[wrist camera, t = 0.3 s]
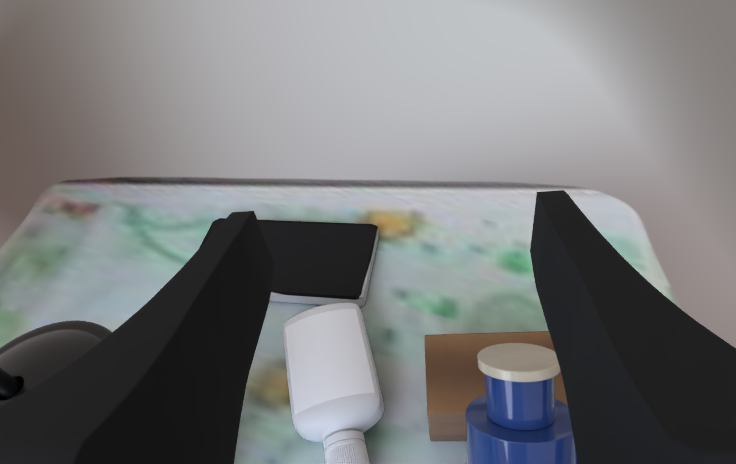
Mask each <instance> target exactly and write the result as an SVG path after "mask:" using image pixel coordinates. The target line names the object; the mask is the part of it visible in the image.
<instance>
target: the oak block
mask: <svg viewBox="0 0 736 464" xmlns="http://www.w3.org/2000/svg"><path fill="white" fill-rule="evenodd" d="M504 343H526V344H533V345H538V346H542V347H546V348H548V349H551V350H553V351H555V349H554V346H553V343H552V339H551V336H550V333H549V331H540V332H507V333H474V334H442V335H425V361H426V387H427V413H428V423H429V432H430V440H431V441H467V437H466V417H465V412H466V409H467V407H468V405H469V404H470V403H471V402H472V401H474V400H475V399H477V398H479V397H482V396H484V395H485V378H484V373H483V372H482V371H480V369H479V368H478V363H477V355H478V353H479V352H480V351H481V350H482V349H484V348H486V347H489V346H492V345H497V344H504ZM555 399H556V400H559V401H561V402H563V403H564V404H566V405H568V404H567V399H566V393H565V388H564V383H563V379H562V375H561V371H560V372H559V374H558V375H556V376H555Z"/></svg>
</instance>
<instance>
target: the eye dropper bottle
mask: <svg viewBox="0 0 736 464" xmlns="http://www.w3.org/2000/svg"><path fill="white" fill-rule="evenodd" d="M283 339H284V349H285V359H286V368H287V378H288V387H289V396H290V405H291V413H292V420H293V425H294V427H295V429H296V431H297V432H298V433H299V435H300V436H301V437H303V438H304V439H306V440H309V441H314V442H324V443H323V445H324V452H325V459H326V464H370V463H369V458H368V453H367V448H366V443H365V438H364V434H363V433H364V432H365V431H366V430H368V429H369V428H371V427H372V426H373V425H375V424H376V423H377V422H378V421H379V420H380V419H381V417H382V416H383V413H384V403H383V398H382V394H381V389H380V385H379V380H378V376H377V372H376V368H375V364H374V359H373V355H372V351H371V347H370V343H369V339H368V334H367V330H366V326H365V322H364V318H363V315H362V312H361V309H360V307H359V306H358V305H357V304H354V303H334V304H327V305H322V306H318V307H315V308H311V309H309V310H306V311H304V312H301V313H299V314H297V315H295V316H293V317H291V318H290V319H288V320H287V321H286V322H285V323H284V325H283Z"/></svg>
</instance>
